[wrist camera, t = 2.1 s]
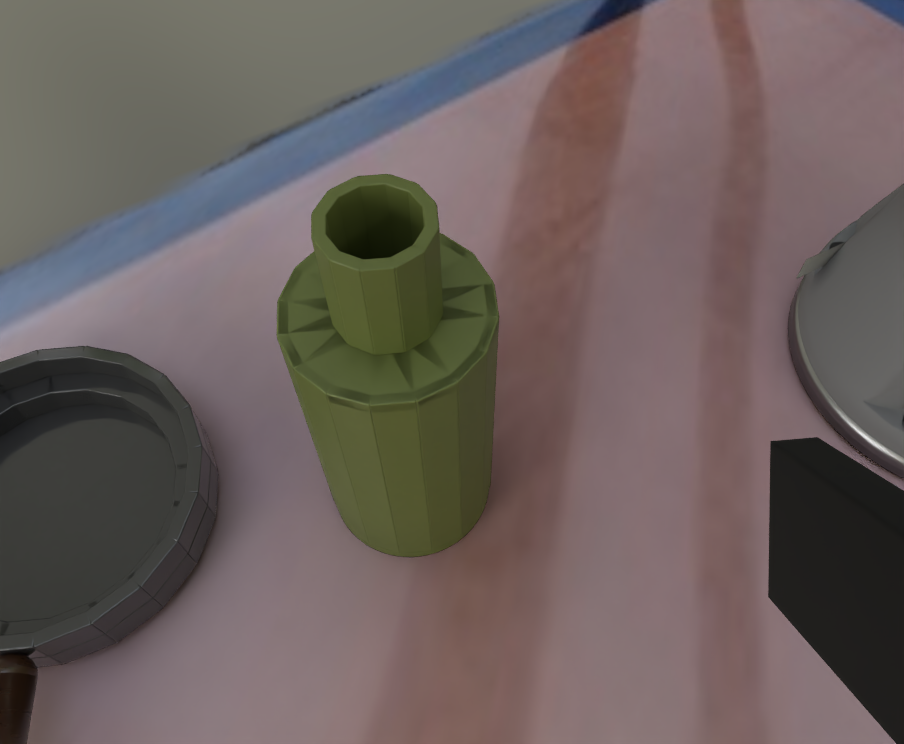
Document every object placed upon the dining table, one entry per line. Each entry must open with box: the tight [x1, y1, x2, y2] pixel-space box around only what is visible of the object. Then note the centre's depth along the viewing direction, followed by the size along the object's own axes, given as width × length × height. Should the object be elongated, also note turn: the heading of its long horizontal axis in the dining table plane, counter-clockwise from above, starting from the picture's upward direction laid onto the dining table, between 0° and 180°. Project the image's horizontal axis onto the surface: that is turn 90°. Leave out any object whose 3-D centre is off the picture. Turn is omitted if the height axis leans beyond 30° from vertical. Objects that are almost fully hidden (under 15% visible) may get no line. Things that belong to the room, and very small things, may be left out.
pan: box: [0, 346, 218, 667], centre depth 35 cm, size 13×13×3 cm
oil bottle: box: [277, 174, 499, 557], centre depth 30 cm, size 7×7×17 cm
